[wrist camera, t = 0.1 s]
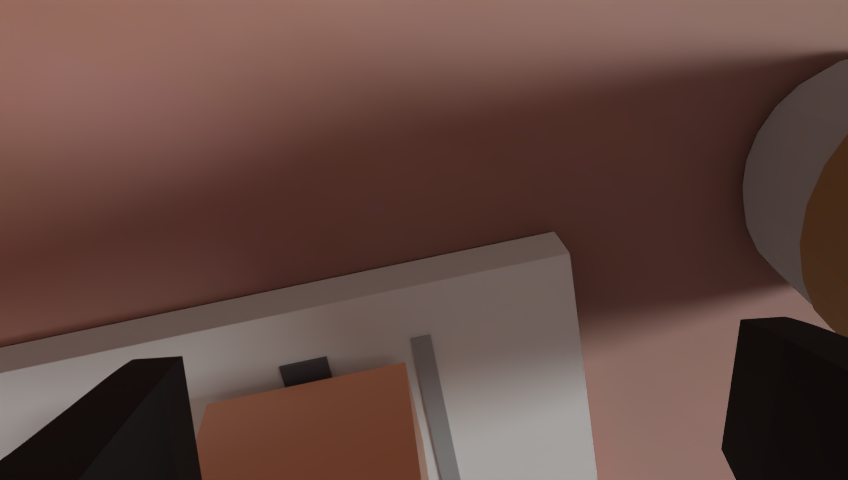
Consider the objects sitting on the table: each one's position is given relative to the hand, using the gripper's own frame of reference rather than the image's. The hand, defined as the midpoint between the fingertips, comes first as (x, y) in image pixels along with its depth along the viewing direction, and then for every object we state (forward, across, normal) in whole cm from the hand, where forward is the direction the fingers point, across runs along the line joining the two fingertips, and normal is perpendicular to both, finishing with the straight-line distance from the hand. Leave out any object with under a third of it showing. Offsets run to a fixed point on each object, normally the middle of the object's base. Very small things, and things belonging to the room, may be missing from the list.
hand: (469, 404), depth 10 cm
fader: (+8, +3, +6) cm, 10 cm away
